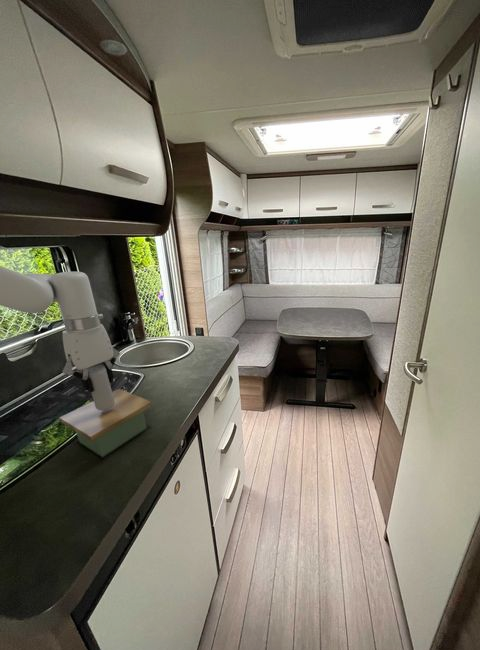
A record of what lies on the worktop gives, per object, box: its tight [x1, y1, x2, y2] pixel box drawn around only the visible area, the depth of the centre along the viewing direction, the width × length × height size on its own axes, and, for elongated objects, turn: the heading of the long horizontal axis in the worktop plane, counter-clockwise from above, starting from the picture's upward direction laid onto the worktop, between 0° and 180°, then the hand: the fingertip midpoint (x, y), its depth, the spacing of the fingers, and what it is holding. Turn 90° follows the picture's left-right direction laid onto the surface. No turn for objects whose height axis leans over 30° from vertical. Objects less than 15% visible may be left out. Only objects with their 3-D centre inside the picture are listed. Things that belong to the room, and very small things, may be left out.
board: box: [58, 388, 153, 441], centre depth 80 cm, size 16×18×2 cm
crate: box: [75, 411, 148, 458], centre depth 82 cm, size 12×14×8 cm
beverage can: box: [88, 364, 115, 410], centre depth 77 cm, size 5×5×12 cm
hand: (99, 385), depth 77 cm, fingers closed on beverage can, 4 cm apart
